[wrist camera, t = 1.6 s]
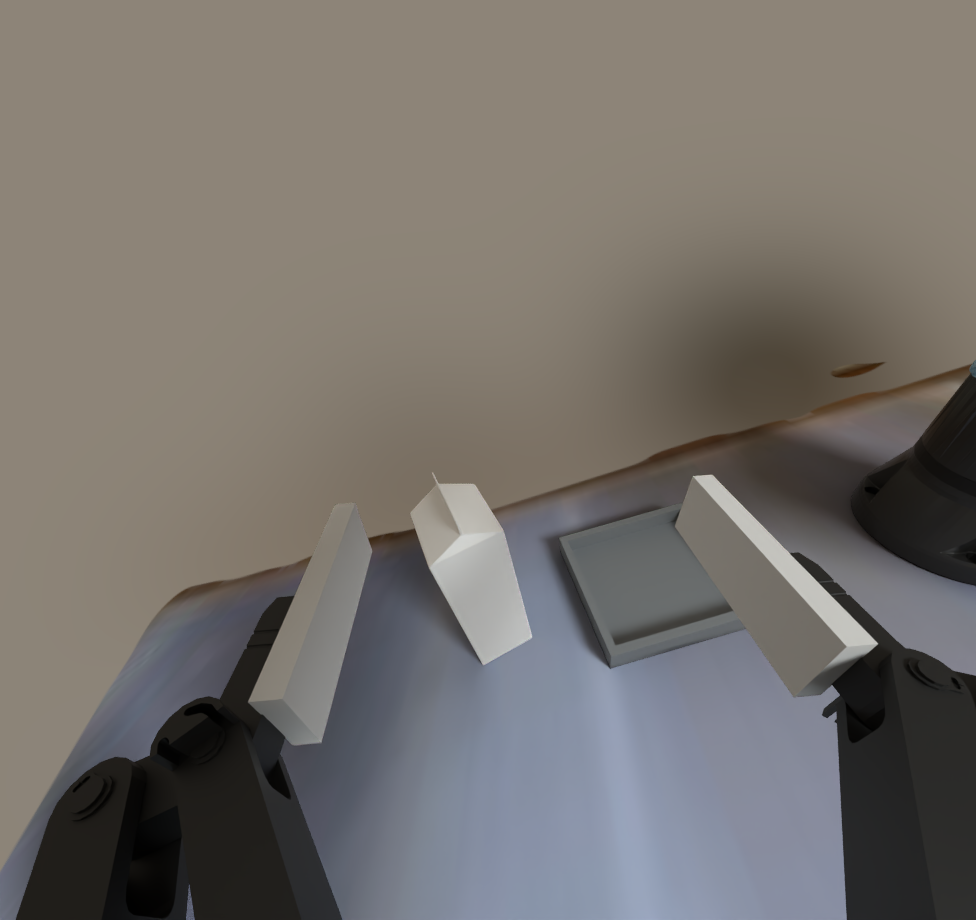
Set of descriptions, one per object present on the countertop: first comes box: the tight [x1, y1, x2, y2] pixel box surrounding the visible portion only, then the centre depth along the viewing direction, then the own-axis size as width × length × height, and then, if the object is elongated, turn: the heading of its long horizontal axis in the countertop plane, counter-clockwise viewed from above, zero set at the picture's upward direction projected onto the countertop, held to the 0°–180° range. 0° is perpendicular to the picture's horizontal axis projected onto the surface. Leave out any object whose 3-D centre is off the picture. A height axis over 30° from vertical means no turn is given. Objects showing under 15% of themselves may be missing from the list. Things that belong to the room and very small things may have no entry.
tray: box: [559, 502, 746, 669], centre depth 39 cm, size 16×14×3 cm
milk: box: [410, 472, 532, 665], centre depth 32 cm, size 6×6×22 cm
